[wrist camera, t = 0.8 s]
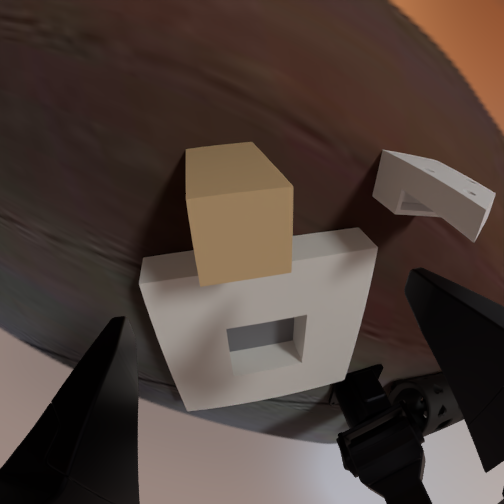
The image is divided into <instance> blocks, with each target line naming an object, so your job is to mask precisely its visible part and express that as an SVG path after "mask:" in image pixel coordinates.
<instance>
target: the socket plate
mask: <svg viewBox="0 0 504 504" xmlns="http://www.w3.org/2000/svg"><path fill="white" fill-rule="evenodd" d="M377 250H378V247H377V246H376V245H375V244H374V243H373V242H372V241H371V240H370V239H369V238H368V236H367V235H366V234H365V233H364V232H363V231H362V230H361V229H360V228H359V227H357V228H350V229H342V230H335V231H327V232H320V233H312V234H305V235H298V236H292V270H291V273H286V274H280V275H274V276H267V277H261V278H255V279H248V280H242V281H235V282H229V283H222V284H215V285H209V286H202V287H200V283H199V277H198V271H197V266H196V260H195V254H194V250H191V251H184V252H178V253H171V254H164V255H157V256H150V257H144V258H143V261H142V267H141V273H140V280H139V286H140V289H141V292H142V295H143V298H144V301H145V304H146V307H147V310H148V313H149V316H150V319H151V322H152V325H153V327H154V330H155V333H156V336H157V338H158V341H159V344H160V346H161V349H162V352H163V354H164V357H165V359H166V362H167V364H168V367H169V369H170V372H171V374H172V377H173V379H174V382H175V384H176V386H177V389H178V391H179V393H180V396H181V398H182V400H183V402H184V405H185V407H186V409H187V411H195V410H203V409H211V408H218V407H224V406H231V405H237V404H243V403H248V402H254V401H259V400H264V399H269V398H274V397H279V396H284V395H288V394H292V393H297V392H301V391H305V390H309V389H313V388H317V387H321V386H325V385H328V384H332V383H336V382H339V381H343V380H344V379H345V376H346V373H347V370H348V367H349V363H350V360H351V357H352V353H353V350H354V346H355V343H356V339H357V336H358V332H359V328H360V325H361V321H362V317H363V313H364V309H365V305H366V301H367V297H368V292H369V288H370V284H371V279H372V274H373V270H374V265H375V260H376V255H377Z"/></svg>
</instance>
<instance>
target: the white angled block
mask: <svg viewBox="0 0 504 504" xmlns="http://www.w3.org/2000/svg"><path fill="white" fill-rule="evenodd" d="M495 194H496V193H494V192H492V191H491V190H489V189H487V188H486V187H484V186H482V185H481V184H479V183H477V182H476V181H474V180H472V179H470V178H469V177H467V176H465V175H463V174H461V173H460V172H458V171H456V170H454V169H452V168H450V167H448V166H447V165H445V164H443V163H441V162H439V161H437V160H433V159H428V158H424V157H419V156H414V155H409V154H404V153H399V152H393V151H388V150H382V155H381V160H380V164H379V169H378V173H377V178H376V182H375V186H374V190H373V195H372V196H373V197H374V198H375V199H376V200H378V201H379V202H380V203H381V204H383V205H384V206H385V207H386V208H388V209H389V210H390V211H391V212H393V213H394V214H398V215H417V216H433V217H442V218H443V219H444V220H446V221H447V222H448V223H450V224H451V225H452V226H453V227H455V228H456V229H457V230H459V231H460V232H461V233H462V234H464V235H465V236H466V237H467V238H469V239H470V240H471V241H472V242H475V240H476V238H477V237H478V235H479V233H480V231H481V229H482V227H483V226H484V224H485V222H486V220H487V218H488V215H489V212H490V209H491V206H492V203H493V200H494V197H495Z"/></svg>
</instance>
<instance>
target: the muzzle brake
mask: <svg viewBox="0 0 504 504" xmlns="http://www.w3.org/2000/svg"><path fill="white" fill-rule="evenodd" d="M391 388H392V391H391V392H390V394H389V396H388V399H389V401H390V403H391V405H392V406H394V405H395V404H397V403H399V401H401V400H403V402H404V403H405V405H406V406H407V408H408V410H409V411H410V413H411V415H412V416H413V418H414V420H415V421H416V423H417V425H418V427H419V428H420V430H421V433H422V435H423V437H424V436H426V435H429V434H431V433H434V432H436V431H439V430H441V429H443V428H446V427H448V426H450V425H452V424H454V423H457V422H459V421H461V420H463V419H464V417H463V415H462V413H461V410H460V408H459V406H458V404H457V402H456V399H455V397H454V395H453V393H452V391H451V389H450V386H449V384H448V382H447V380H446V378H445V376H444V374H443V373H442V372H440V373H439V374H436V375H433V374H430V375H425V376H420V377H415V378H410V379H405V380H399V381H396V382H395V383H394V384H393V385H392V386H391ZM422 397H423V401H421V399H422ZM424 415H425V416H426V417H427V418H425V417H424Z"/></svg>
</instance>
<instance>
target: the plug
mask: <svg viewBox="0 0 504 504" xmlns="http://www.w3.org/2000/svg"><path fill="white" fill-rule="evenodd" d="M186 203H187V210H188V217H189V223H190V230H191V236H192V242H193V248H194V254H195V260H196V266H197V271H198V277H199V283H200V287H202V286H209V285H215V284H222V283H229V282H235V281H242V280H248V279H255V278H261V277H267V276H274V275H280V274H286V273H291V270H292V236H293V186H292V185H291V183H290V182H289V181H288V180H287V179H286V178H285V177H284V176H283V175H282V173H281V172H280V171H279V170H278V169H277V168H276V167H275V166H274V165H273V164H272V163H271V162H270V160H269V159H268V158H267V157H266V156H265V155H264V154H263V153H262V152H261V151H260V150H259V149H258V148H257V147H256V146H255V145H254V144H253V143H252V142H245V143H235V144H225V145H216V146H207V147H199V148H192V149H186Z"/></svg>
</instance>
